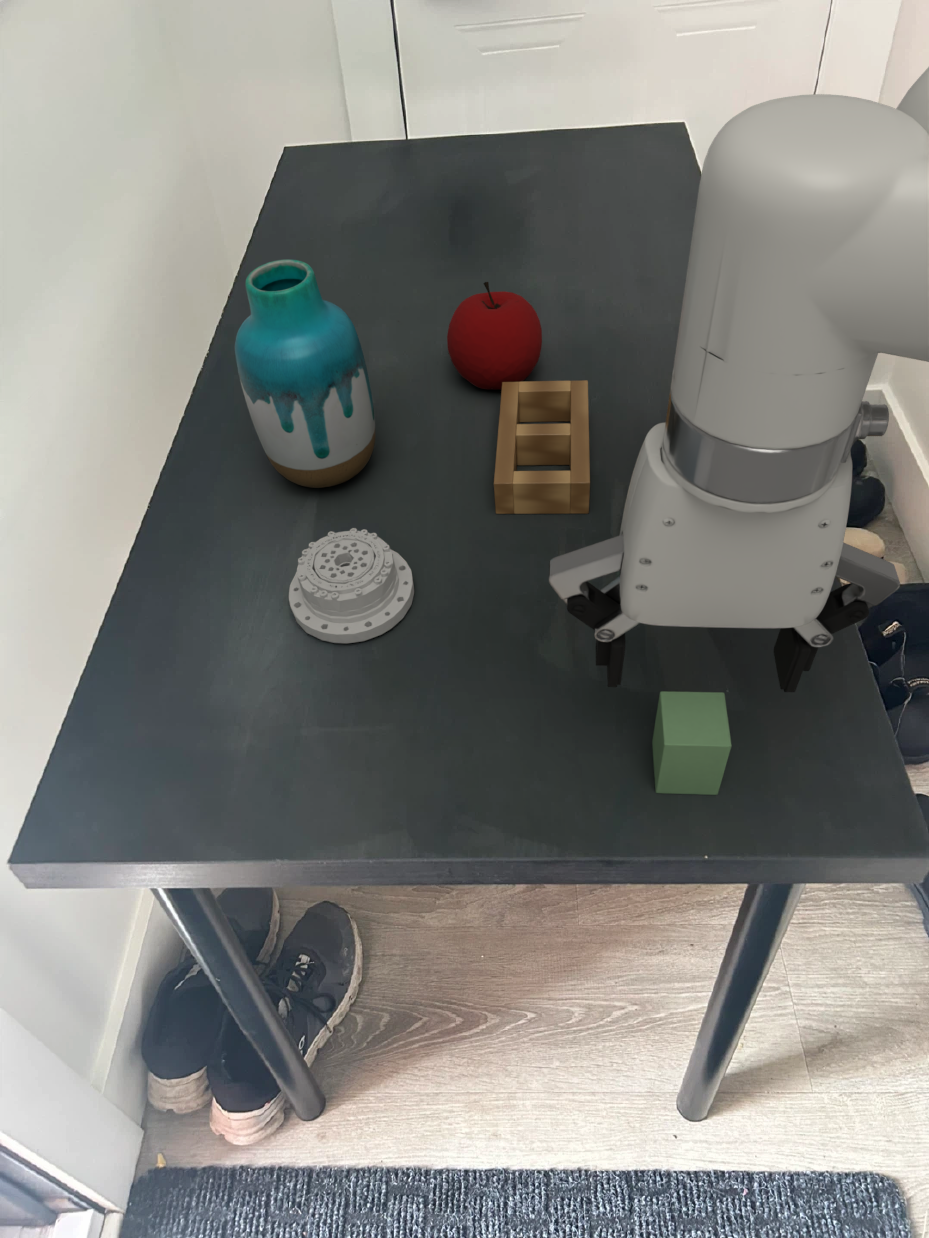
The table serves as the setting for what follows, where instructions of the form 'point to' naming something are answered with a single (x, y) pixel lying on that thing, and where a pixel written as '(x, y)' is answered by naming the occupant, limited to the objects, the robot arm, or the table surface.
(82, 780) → the table surface
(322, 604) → the mechanical component
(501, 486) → the wooden rectangular frame
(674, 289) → the table surface
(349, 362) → the vase
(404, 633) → the table surface
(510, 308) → the apple
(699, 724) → the green block
